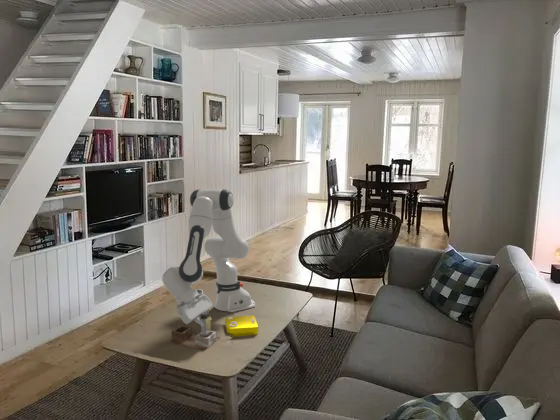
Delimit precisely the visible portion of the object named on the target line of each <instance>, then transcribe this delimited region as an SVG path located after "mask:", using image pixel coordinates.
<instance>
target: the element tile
mask: <svg viewBox="0 0 560 420" xmlns="http://www.w3.org/2000/svg"><path fill="white" fill-rule="evenodd" d="M224 326H225V329H226V333H227V334H228V335H230V336H229V337H230V338H236V337H237V336H238V337H246V336H247V337H249V336H257V335H259V324H258V322H257V319H256V317H255V316H254V315H252V314H251V315H239V316H226V317H225V318H224ZM238 337H237V338H238Z"/></svg>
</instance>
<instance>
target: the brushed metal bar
mask: <svg viewBox="0 0 560 420" xmlns="http://www.w3.org/2000/svg"><path fill="white" fill-rule="evenodd" d="M210 317H211V311H209V310H208V311H205V312H203V313H202V314H201V316H200V320H202V321H204V322H205V325H204V326H201V325H200V327H201V328H200V333H201V337H206V338H207V337H209V336H210V335H211V331H212V330H211V328H212V325H211V322H212V320H211V319H210Z"/></svg>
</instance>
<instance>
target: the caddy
mask: <svg viewBox="0 0 560 420" xmlns="http://www.w3.org/2000/svg"><path fill="white" fill-rule="evenodd" d="M220 339H221V337H219V336H218V331H215V330H211V335H210V336H209V337H207V338H206V337H201V332H199V333H198V332H194V331H193V327H192V326H187V325H179V326H178V327H176V328H175V329H173V330H172V331H171V339H169V340H168V341H167V342H166V343H168V344H172V345H178V346H182V347H186V348H191V349H196V350H202V351H207V350H208V349H209V348H210V347H211V346H213V345H214V344H215V343H216V342H217V341H219V340H220Z"/></svg>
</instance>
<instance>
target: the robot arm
mask: <svg viewBox="0 0 560 420" xmlns="http://www.w3.org/2000/svg"><path fill="white" fill-rule="evenodd" d="M189 196H190V197H189V203H190V206H191V209H190V213H189V218H188V241H187V247H186V253H185V256H184V258H183V259H182V261H181V263H180V265H179V266H175V267H173V266H171V267H170V268H168V269H167V270H166V271H165V272H164V273H163V275H162V278H161V281H162V284H163V285H164V287H165V288H166V289H167V292H169V293H170V294H171V295H172V297H174V300H175V301H176V302H177V303H178V304H177V305H176V307H175V309H176V312H177V313H178V315H179V318H180V319H181V320H182V322H183V323H184V324H186V325H188V324H190V323H192V322H193V321H194V322H195V323H197V324H199V325H200V327H201V326H204V325H205V322H204V321H202V320H201V318H200V317H201V314H202V313H203V312H205V311H208V312H209V311H210V310H211V309H212V308H213V307H214V308H215V310H218V311H223V312H229V313H235V312H238V311H242V310H244V311H245V310H246V309H251V308H255V307H256V302H255V301H254V300H253V299H252V297H251V294H250V293H249V292H248V291H247V290H245V289H244V288H243V286H244V283H242V282H241V281H239V280H238V269H237V268H238V267H236V265H235V264H234V263H233V262H231V260H230V259H233V260H238V259H239V260H240V259H245V258H246V257H247V256H248V255H249V252H250V246H249V244H248V241H247V240H245V239H244V238H242V236H241V235H240V234H239V233H238V231H237V230H236V227H235V223H234V219H233V212H232V207H233V205H234V196H233V193H232V192H231V191H230V190H228V189H220V188H219V189H218V188H205V189H204V188H203V189H200V188H199V189H195V190H193V191H192V192H191V194H190V195H189ZM211 229H213V231H214V233H215V234H217V235H218V236H210V237H208V236H209V234H210V232H211ZM206 237H208V238H207V239H206V240H205V238H206ZM204 240H205V242H204ZM203 244H204V245H203ZM203 246H204V247H203ZM203 248H204V251H205V252H206V254H207V255H208V256H209V257H210V259H211V260H212V261H213V263H214V266H215V269H216V270H215V271H216V283H215V289H216V290H215V291H216V298H215V303H214V305H213V302H212V300H211V299H210V298H209V297H208V296H207V295H206V294H204V290H203V289H200V288H199V289H193V288H192V286H194V285H196V284H198V283H199V282H200V281H201V280H202V279H203V277H204V270H203V266H202V264H201V263H202V262H201V253H202V249H203ZM210 319H211V321H212V317H211V316H210Z"/></svg>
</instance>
